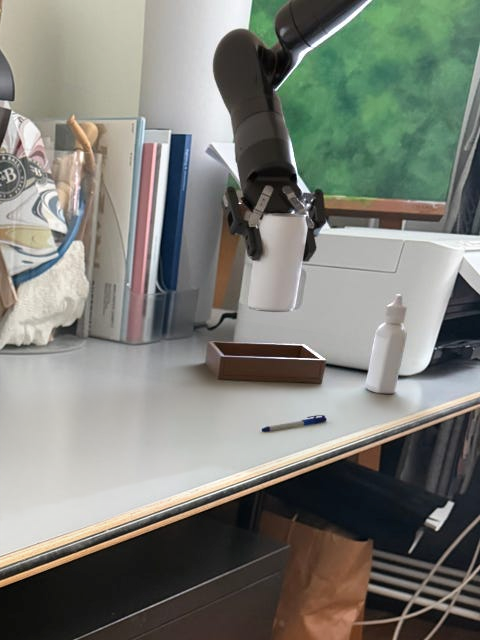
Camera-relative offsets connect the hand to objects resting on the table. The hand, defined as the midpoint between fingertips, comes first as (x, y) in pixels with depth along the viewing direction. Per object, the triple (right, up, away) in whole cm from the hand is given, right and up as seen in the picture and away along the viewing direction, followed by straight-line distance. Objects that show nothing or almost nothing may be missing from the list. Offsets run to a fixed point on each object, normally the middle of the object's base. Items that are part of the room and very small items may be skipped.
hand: (283, 256), depth 125 cm
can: (0, -6, +5) cm, 7 cm away
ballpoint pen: (-4, -27, -19) cm, 34 cm away
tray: (-1, -13, +8) cm, 16 cm away
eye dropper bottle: (+13, -18, 0) cm, 22 cm away
